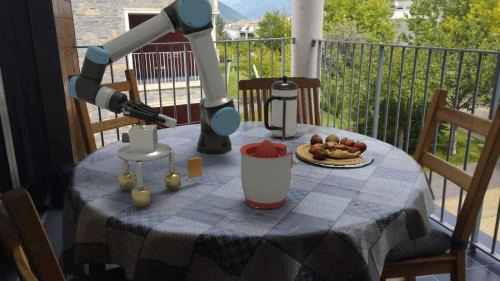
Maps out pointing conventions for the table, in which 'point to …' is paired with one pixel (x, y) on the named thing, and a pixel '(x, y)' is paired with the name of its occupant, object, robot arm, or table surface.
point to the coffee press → (282, 109)
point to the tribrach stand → (140, 159)
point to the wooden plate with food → (332, 151)
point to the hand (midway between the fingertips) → (175, 124)
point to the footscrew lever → (174, 178)
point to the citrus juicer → (266, 173)
